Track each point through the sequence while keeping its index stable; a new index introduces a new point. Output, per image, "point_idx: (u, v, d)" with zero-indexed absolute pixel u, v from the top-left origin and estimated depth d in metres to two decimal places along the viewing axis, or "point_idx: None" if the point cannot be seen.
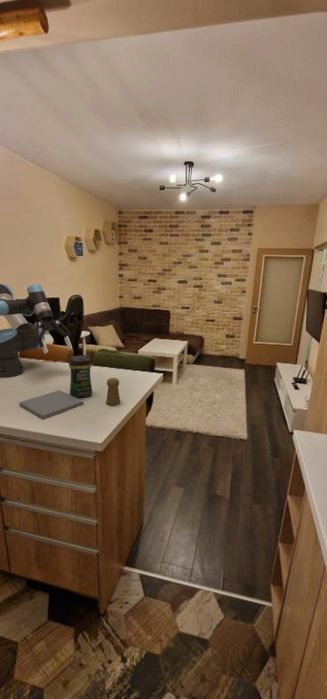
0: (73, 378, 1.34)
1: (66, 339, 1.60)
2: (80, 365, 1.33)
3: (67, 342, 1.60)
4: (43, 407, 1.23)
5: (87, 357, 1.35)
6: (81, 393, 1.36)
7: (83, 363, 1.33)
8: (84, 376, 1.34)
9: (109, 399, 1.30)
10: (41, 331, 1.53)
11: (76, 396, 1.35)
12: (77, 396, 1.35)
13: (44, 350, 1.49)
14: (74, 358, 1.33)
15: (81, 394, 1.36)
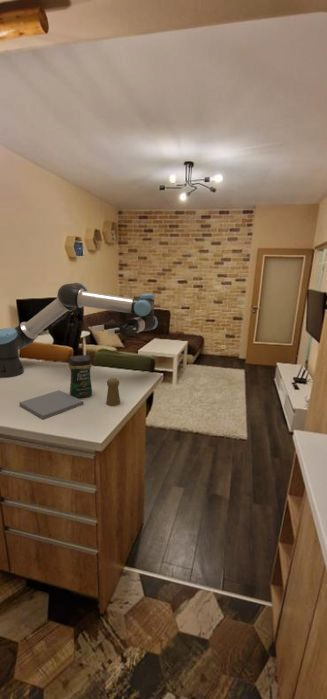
0: (73, 378, 1.34)
1: (101, 328, 1.49)
2: (80, 365, 1.33)
3: (99, 328, 1.48)
4: (43, 407, 1.23)
5: (87, 357, 1.35)
6: (81, 393, 1.36)
7: (83, 363, 1.33)
8: (84, 376, 1.34)
9: (109, 399, 1.30)
10: (125, 328, 1.48)
11: (76, 396, 1.35)
12: (77, 396, 1.35)
13: (111, 332, 1.39)
14: (74, 358, 1.33)
15: (81, 394, 1.36)
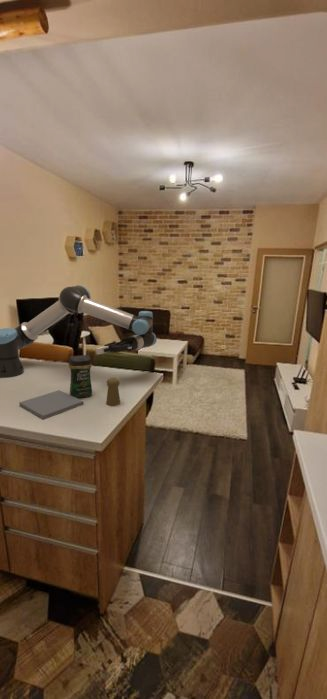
0: (73, 378, 1.34)
1: None
2: (80, 365, 1.33)
3: None
4: (43, 407, 1.23)
5: (87, 357, 1.35)
6: (81, 393, 1.36)
7: (83, 363, 1.33)
8: (84, 376, 1.34)
9: (109, 399, 1.30)
10: (119, 346, 1.50)
11: (76, 396, 1.35)
12: (77, 396, 1.35)
13: (100, 350, 1.43)
14: (74, 358, 1.33)
15: (81, 394, 1.36)
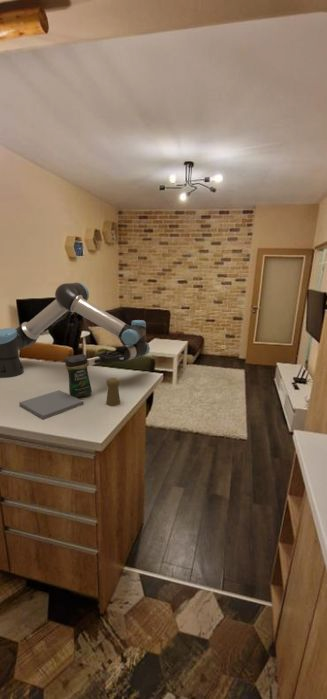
0: (71, 379, 1.33)
1: None
2: (77, 366, 1.31)
3: None
4: (43, 407, 1.23)
5: (83, 356, 1.33)
6: (80, 393, 1.35)
7: (79, 363, 1.31)
8: (81, 376, 1.33)
9: (109, 399, 1.30)
10: (111, 357, 1.46)
11: (76, 396, 1.35)
12: (77, 396, 1.35)
13: (91, 362, 1.39)
14: (70, 359, 1.31)
15: (81, 394, 1.36)
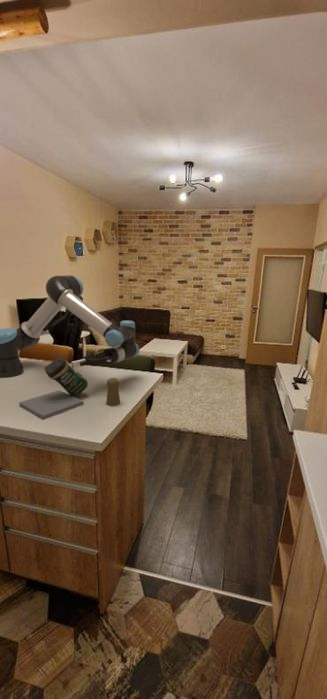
0: (61, 384, 1.31)
1: None
2: (58, 373, 1.27)
3: None
4: (43, 407, 1.23)
5: (58, 361, 1.27)
6: (78, 391, 1.34)
7: (58, 370, 1.26)
8: (68, 378, 1.30)
9: (109, 399, 1.30)
10: (98, 359, 1.41)
11: (75, 395, 1.35)
12: (76, 395, 1.35)
13: (76, 364, 1.33)
14: (48, 370, 1.26)
15: (78, 392, 1.35)
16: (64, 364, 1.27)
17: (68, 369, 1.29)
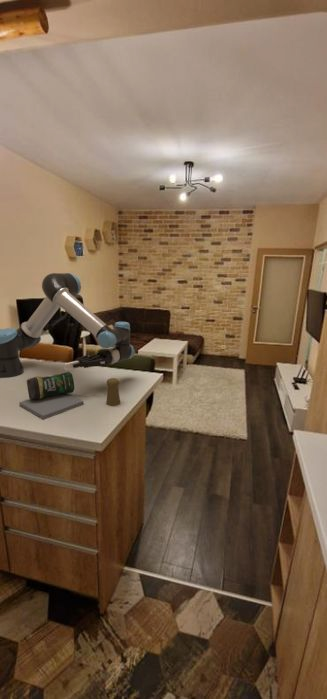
0: (53, 393, 1.31)
1: None
2: (39, 389, 1.26)
3: None
4: (43, 407, 1.23)
5: (29, 382, 1.26)
6: (70, 383, 1.34)
7: (37, 387, 1.26)
8: (50, 383, 1.29)
9: (109, 399, 1.30)
10: (91, 361, 1.39)
11: (72, 387, 1.35)
12: (72, 387, 1.35)
13: (68, 366, 1.31)
14: (31, 395, 1.26)
15: (71, 383, 1.35)
16: (34, 379, 1.27)
17: (42, 379, 1.29)
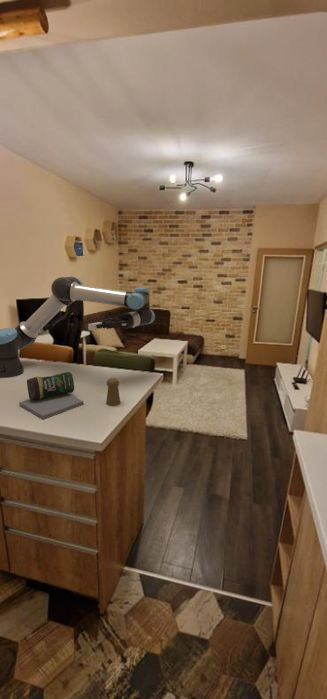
0: (53, 393, 1.31)
1: None
2: (39, 389, 1.26)
3: None
4: (43, 407, 1.23)
5: (29, 382, 1.26)
6: (70, 383, 1.34)
7: (37, 387, 1.26)
8: (50, 383, 1.29)
9: (109, 399, 1.30)
10: None
11: (72, 387, 1.35)
12: (72, 387, 1.35)
13: (92, 326, 1.40)
14: (31, 395, 1.26)
15: (71, 383, 1.35)
16: (34, 379, 1.27)
17: (42, 379, 1.29)
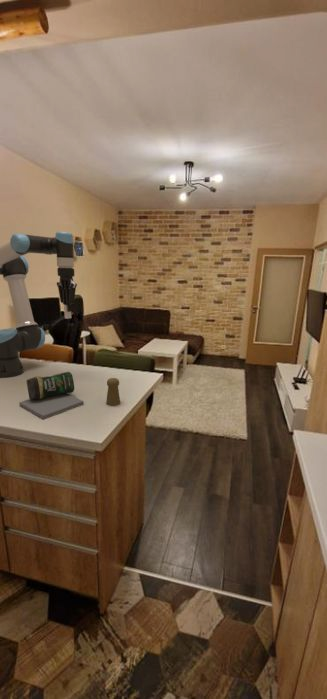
0: (53, 393, 1.31)
1: None
2: (39, 389, 1.26)
3: None
4: (43, 407, 1.23)
5: (29, 382, 1.26)
6: (70, 383, 1.34)
7: (37, 387, 1.26)
8: (50, 383, 1.29)
9: (109, 399, 1.30)
10: (68, 292, 1.44)
11: (72, 387, 1.35)
12: (72, 387, 1.35)
13: (68, 315, 1.47)
14: (31, 395, 1.26)
15: (71, 383, 1.35)
16: (34, 379, 1.27)
17: (42, 379, 1.29)
